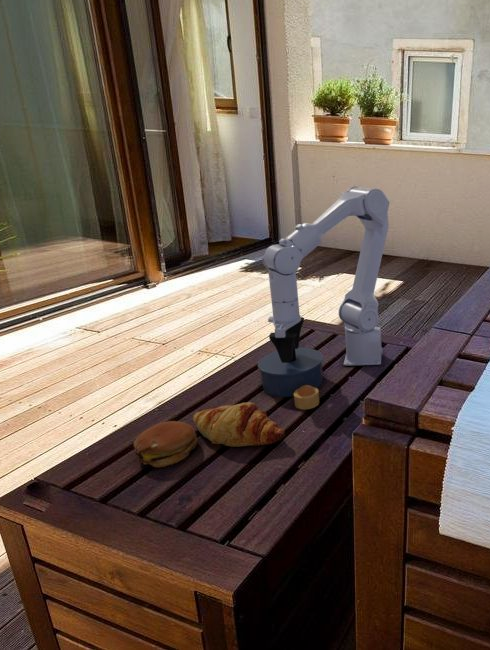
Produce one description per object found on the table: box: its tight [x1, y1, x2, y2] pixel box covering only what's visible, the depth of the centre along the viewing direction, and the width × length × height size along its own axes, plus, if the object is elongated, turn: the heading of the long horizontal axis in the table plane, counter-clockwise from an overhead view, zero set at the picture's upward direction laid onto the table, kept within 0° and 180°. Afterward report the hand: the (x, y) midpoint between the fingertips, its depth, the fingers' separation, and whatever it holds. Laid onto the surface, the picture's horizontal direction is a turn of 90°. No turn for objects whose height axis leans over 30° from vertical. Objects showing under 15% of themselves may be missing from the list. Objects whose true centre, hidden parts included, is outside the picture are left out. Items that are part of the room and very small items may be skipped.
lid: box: [257, 343, 324, 376], centre depth 109 cm, size 15×15×5 cm
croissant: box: [192, 401, 286, 448], centre depth 90 cm, size 21×10×8 cm, turn 72°
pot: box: [260, 362, 324, 398], centre depth 111 cm, size 14×14×5 cm
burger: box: [132, 420, 199, 468], centre depth 85 cm, size 10×9×5 cm
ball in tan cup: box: [293, 385, 320, 411], centre depth 102 cm, size 5×5×4 cm
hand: (290, 354), depth 109 cm, fingers open, 7 cm apart
